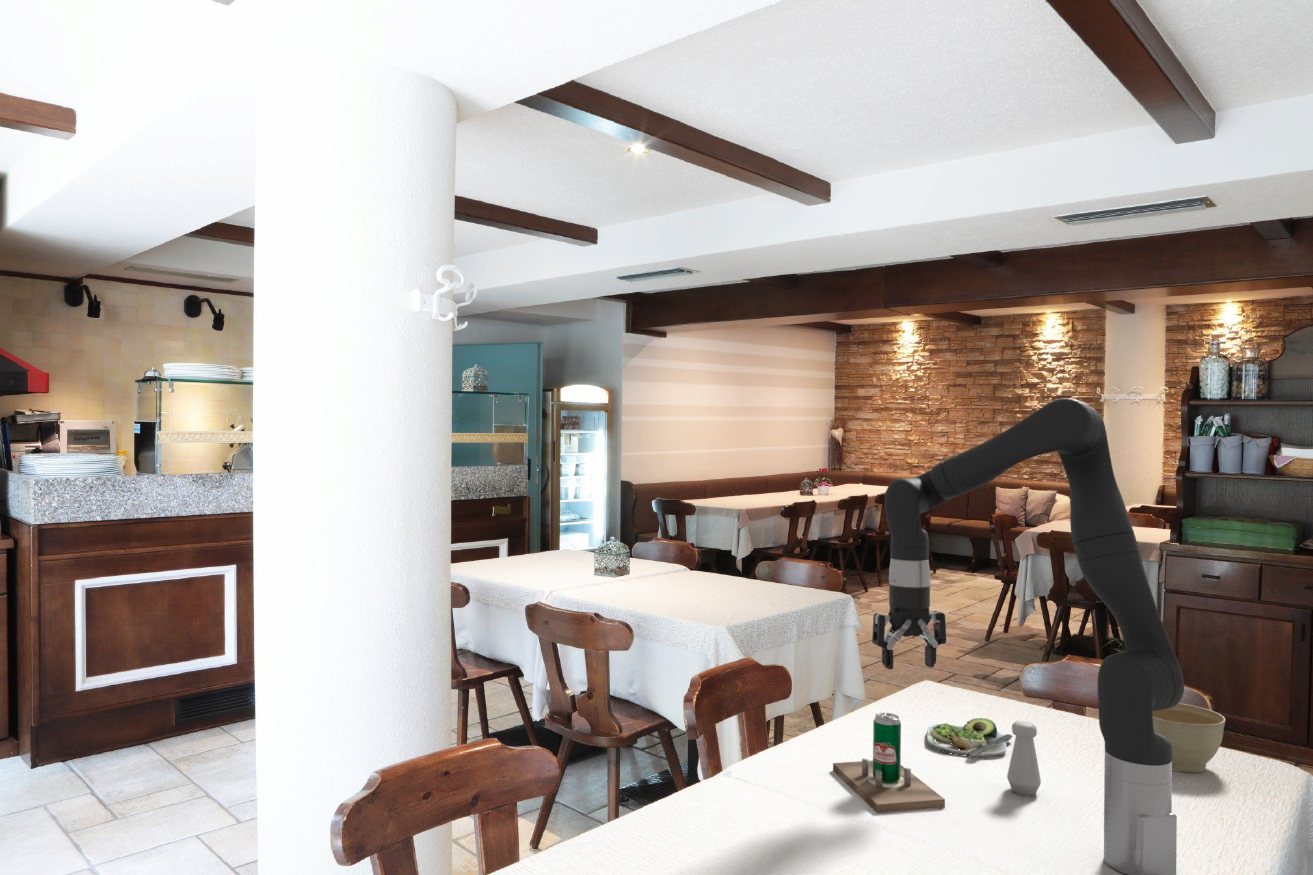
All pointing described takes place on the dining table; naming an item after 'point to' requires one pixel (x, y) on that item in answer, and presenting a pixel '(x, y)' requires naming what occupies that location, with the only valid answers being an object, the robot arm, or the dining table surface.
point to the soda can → (887, 746)
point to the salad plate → (970, 738)
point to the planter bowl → (1190, 735)
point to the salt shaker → (1024, 760)
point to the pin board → (888, 788)
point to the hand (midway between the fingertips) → (909, 667)
